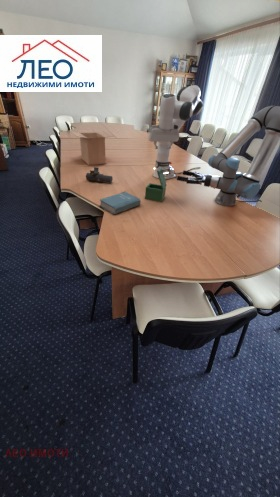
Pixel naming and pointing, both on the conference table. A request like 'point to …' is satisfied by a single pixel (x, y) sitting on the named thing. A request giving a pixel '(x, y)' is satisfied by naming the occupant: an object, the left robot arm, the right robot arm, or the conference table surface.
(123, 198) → the book
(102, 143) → the box
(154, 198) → the chest
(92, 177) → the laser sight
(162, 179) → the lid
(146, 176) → the conference table surface
